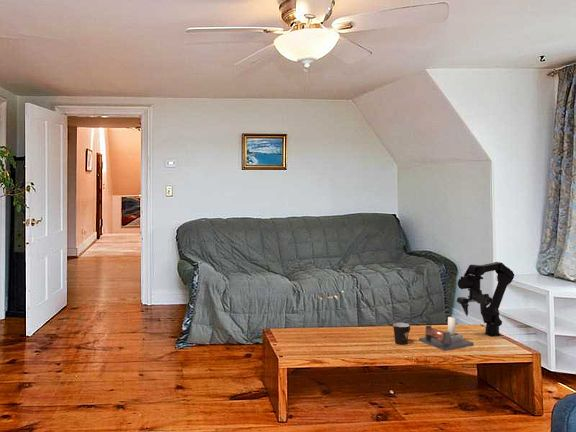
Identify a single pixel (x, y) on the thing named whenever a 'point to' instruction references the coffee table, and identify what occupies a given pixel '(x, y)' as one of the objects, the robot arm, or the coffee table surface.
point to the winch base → (444, 339)
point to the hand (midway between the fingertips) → (474, 315)
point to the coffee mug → (401, 333)
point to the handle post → (451, 325)
